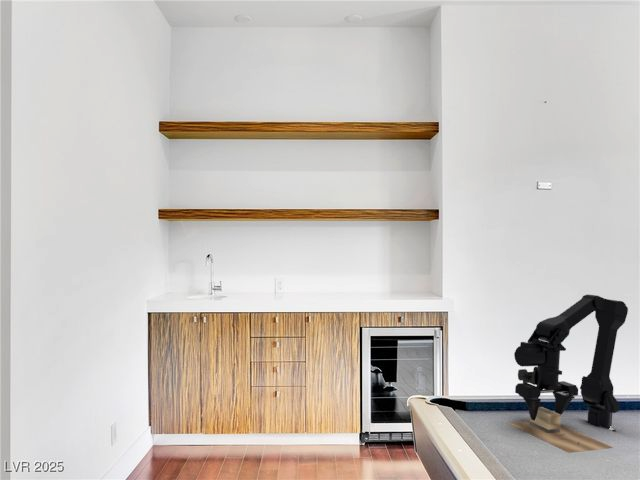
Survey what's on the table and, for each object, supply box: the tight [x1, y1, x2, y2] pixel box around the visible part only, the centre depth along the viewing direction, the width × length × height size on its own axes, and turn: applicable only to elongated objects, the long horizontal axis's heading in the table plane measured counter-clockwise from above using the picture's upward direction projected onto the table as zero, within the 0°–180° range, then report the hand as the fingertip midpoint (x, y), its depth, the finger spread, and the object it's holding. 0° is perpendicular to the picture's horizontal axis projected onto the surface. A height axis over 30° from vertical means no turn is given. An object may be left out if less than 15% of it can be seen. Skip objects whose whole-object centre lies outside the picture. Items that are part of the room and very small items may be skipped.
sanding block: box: [529, 406, 562, 433], centre depth 147 cm, size 4×7×5 cm, turn 21°
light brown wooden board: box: [508, 420, 614, 454], centre depth 143 cm, size 16×22×1 cm
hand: (545, 419), depth 148 cm, fingers open, 9 cm apart
